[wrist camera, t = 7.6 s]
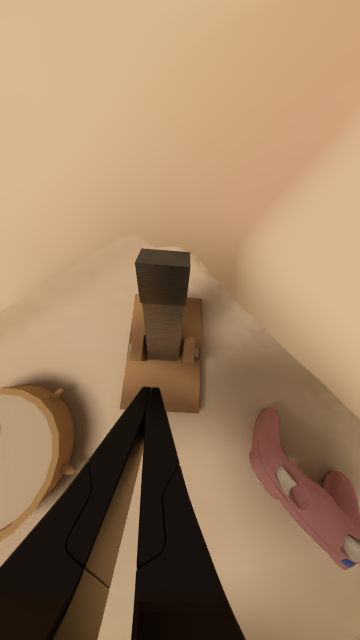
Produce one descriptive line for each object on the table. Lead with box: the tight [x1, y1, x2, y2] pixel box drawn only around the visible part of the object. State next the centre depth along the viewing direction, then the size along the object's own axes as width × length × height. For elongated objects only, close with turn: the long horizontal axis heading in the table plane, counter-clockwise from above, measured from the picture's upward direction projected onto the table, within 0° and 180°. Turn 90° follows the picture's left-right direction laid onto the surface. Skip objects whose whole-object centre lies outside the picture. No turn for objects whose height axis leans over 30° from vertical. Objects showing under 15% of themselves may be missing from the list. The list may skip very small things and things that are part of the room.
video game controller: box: [249, 408, 360, 570], centre depth 15 cm, size 10×5×7 cm, turn 47°
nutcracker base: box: [120, 294, 202, 413], centre depth 18 cm, size 12×8×4 cm, turn 177°
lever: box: [135, 248, 190, 361], centre depth 14 cm, size 2×3×10 cm, turn 87°
